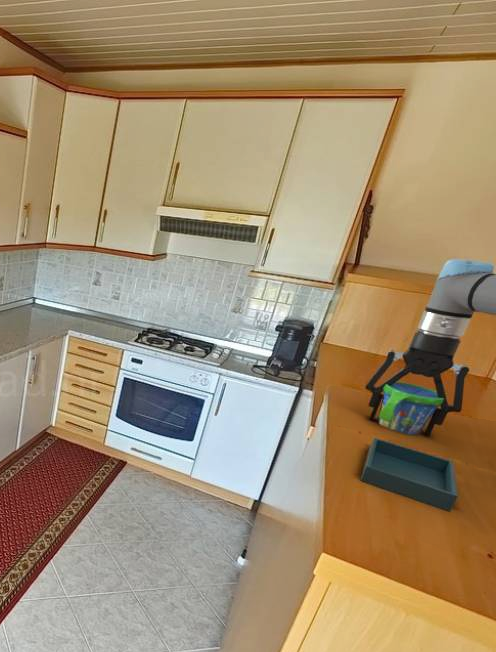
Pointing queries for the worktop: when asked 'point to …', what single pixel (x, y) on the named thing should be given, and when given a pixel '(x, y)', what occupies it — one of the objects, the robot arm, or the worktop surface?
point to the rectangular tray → (411, 474)
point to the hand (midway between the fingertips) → (397, 428)
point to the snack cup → (407, 407)
